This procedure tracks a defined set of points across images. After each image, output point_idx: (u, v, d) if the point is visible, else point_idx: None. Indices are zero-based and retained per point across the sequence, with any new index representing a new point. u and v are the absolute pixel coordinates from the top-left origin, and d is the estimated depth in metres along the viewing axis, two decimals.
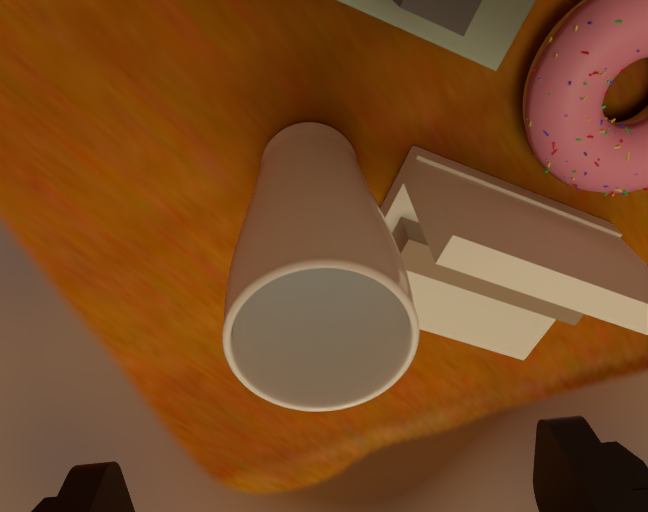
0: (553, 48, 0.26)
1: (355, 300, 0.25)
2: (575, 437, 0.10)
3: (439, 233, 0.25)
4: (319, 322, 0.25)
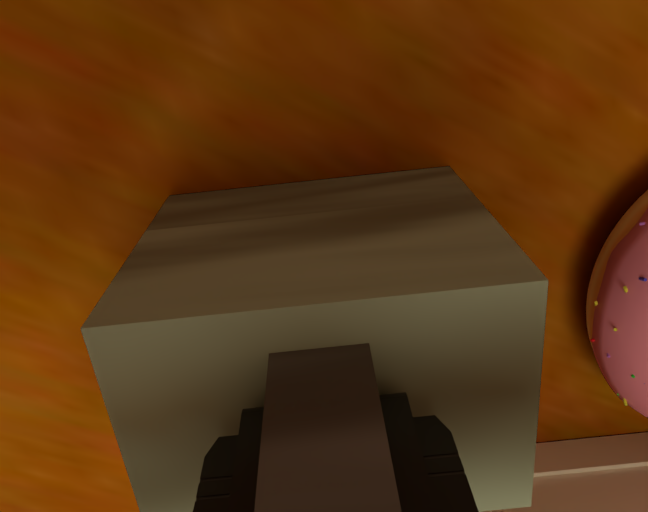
0: (606, 316, 0.18)
1: None
2: (391, 410, 0.11)
3: None
4: None
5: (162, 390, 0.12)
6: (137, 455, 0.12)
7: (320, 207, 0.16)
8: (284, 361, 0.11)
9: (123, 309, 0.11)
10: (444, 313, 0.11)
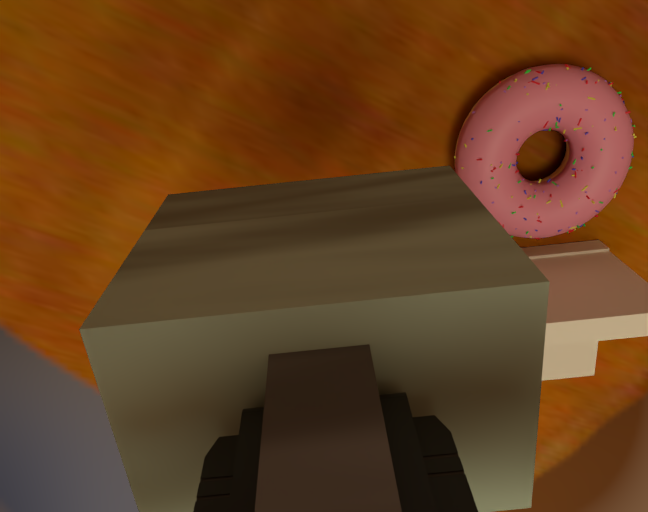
0: (459, 163, 0.35)
1: None
2: (391, 410, 0.11)
3: None
4: None
5: (160, 392, 0.12)
6: (136, 456, 0.12)
7: (320, 207, 0.16)
8: (284, 362, 0.11)
9: (122, 309, 0.11)
10: (445, 314, 0.11)
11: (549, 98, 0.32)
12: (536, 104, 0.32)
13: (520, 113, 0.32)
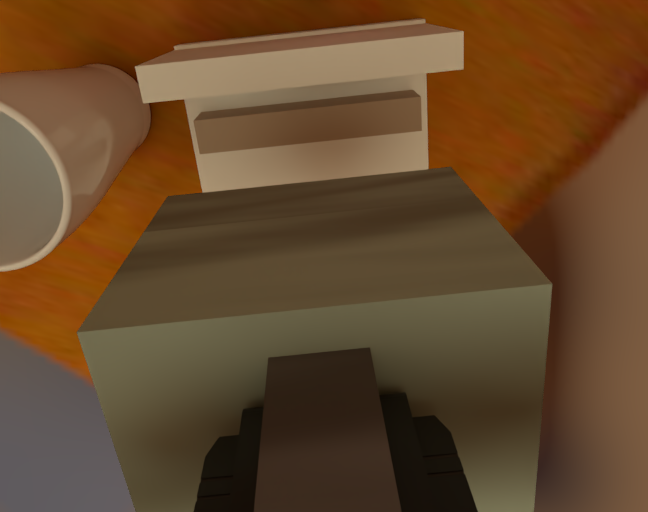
0: None
1: None
2: (391, 410, 0.11)
3: None
4: None
5: (159, 395, 0.11)
6: (134, 460, 0.12)
7: (319, 208, 0.16)
8: (284, 366, 0.11)
9: (121, 312, 0.11)
10: (446, 317, 0.11)
11: None
12: None
13: None
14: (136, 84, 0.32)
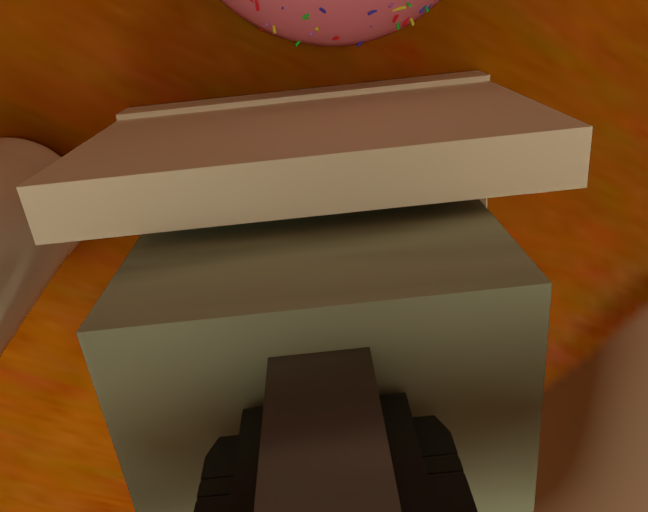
0: None
1: None
2: (391, 410, 0.11)
3: None
4: None
5: (159, 395, 0.11)
6: (134, 460, 0.12)
7: None
8: (283, 365, 0.11)
9: (120, 313, 0.11)
10: (446, 316, 0.11)
11: None
12: None
13: None
14: None
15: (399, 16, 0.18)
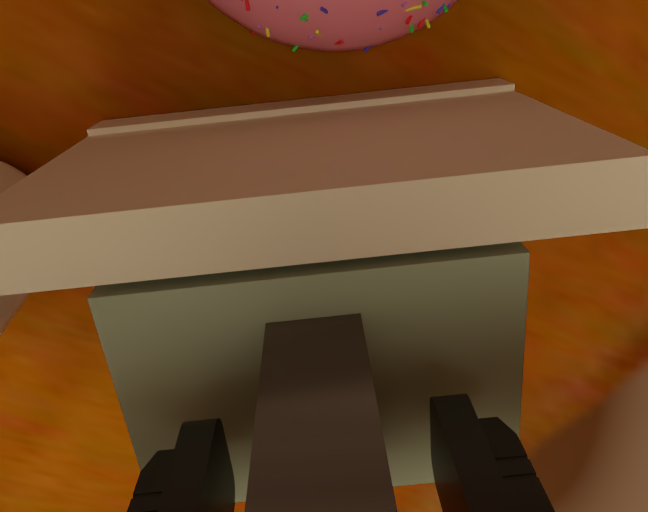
0: None
1: None
2: (455, 412, 0.11)
3: None
4: None
5: (164, 359, 0.12)
6: (140, 422, 0.13)
7: None
8: (280, 329, 0.12)
9: None
10: (432, 284, 0.12)
11: None
12: None
13: None
14: None
15: (413, 17, 0.16)
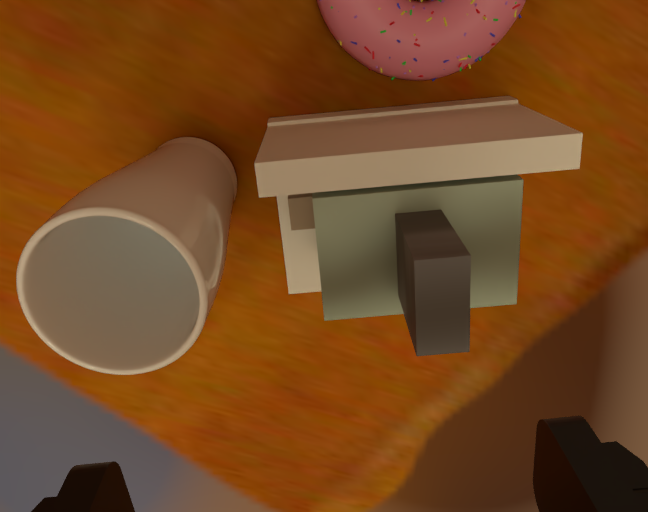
0: None
1: None
2: (575, 437, 0.10)
3: None
4: (188, 299, 0.25)
5: (343, 232, 0.25)
6: (326, 267, 0.26)
7: None
8: (403, 215, 0.24)
9: (327, 193, 0.25)
10: (476, 194, 0.24)
11: None
12: None
13: None
14: (226, 157, 0.32)
15: (462, 63, 0.28)
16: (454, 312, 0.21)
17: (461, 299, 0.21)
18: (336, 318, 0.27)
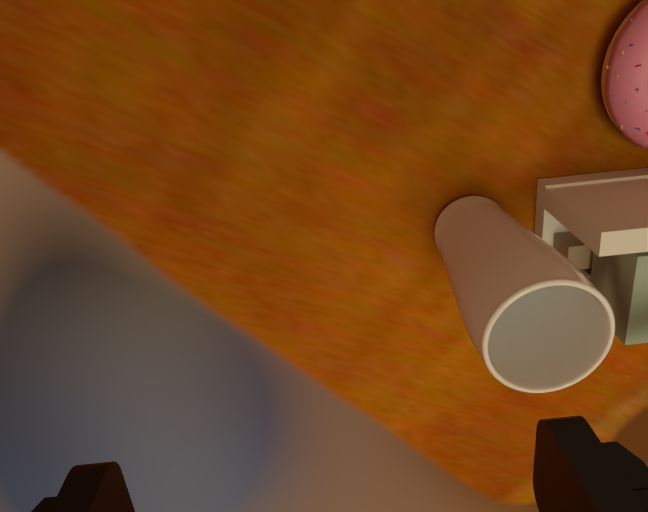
0: (612, 72, 0.35)
1: (553, 306, 0.34)
2: (575, 437, 0.10)
3: (591, 235, 0.33)
4: (534, 331, 0.34)
5: None
6: (636, 305, 0.34)
7: None
8: None
9: None
10: None
11: None
12: None
13: None
14: None
15: None
16: None
17: None
18: (634, 343, 0.35)
